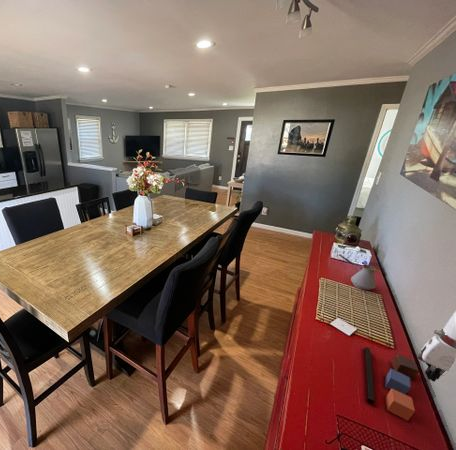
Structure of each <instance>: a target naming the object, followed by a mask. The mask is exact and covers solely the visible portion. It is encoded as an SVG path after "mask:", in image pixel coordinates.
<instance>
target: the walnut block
mask: <svg viewBox="0 0 456 450" xmlns="http://www.w3.org/2000/svg"><path fill="white" fill-rule="evenodd" d="M390 364H391V367H392V369H393V370H395V371H397V372H399V373H401V374H403V375H406V376H408V377H410V381H413V380H414V379H415V377H416V376H417V375H418V373H419V371H420V370H419V369H418V366H417V364H416V362H415V360H414V359H411V358H409V357H405V356H402V355H400V354H397V353H396V355H395V356H394V357H393V359H392V361H391V362H390Z"/></svg>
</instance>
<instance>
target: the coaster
mask: <svg viewBox="0 0 456 450" xmlns="http://www.w3.org/2000/svg"><path fill="white" fill-rule="evenodd" d="M329 324H330V325H331V326H333V327H334V328H336V329H337V330H339V331H341V332H342V333H344V334H346V335H347V336H351V335H352V334H353V333H354V332H356V331H357V330H358V328H357V327H355V326H353V325H351V324H350V323H348V322H346V321H345V320H343V319H341V318H339V317H337V318H335V319H334V320H333V321H331V322H330V323H329Z"/></svg>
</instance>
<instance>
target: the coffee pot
mask: <svg viewBox="0 0 456 450" xmlns="http://www.w3.org/2000/svg"><path fill="white" fill-rule="evenodd" d="M338 257H340V258H342V259H343V260H344V261H345V262H347V263H349V264H350V265H352V266H353V267H354V268H356V269H358V270H359V271H358V272H356V273H355V274H354V275H353V276H351V277H350V281H351V283H352V284H353V286H354V287H356V288H358V289H359V290H362V291H371V290H374V289H375V288H376V287H377V283H376V279H375V277H376V276H375V272H377V270H378V269H377V268H376V267H374V266H372V265H370V264H362V265H361V268H360V267H359V266H357V264H355V263H354V262H352V261H351V260H350V259H348V258H346V257H345V256H344V255H342V254H340V253H339V254H338V255H337V258H338Z"/></svg>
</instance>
